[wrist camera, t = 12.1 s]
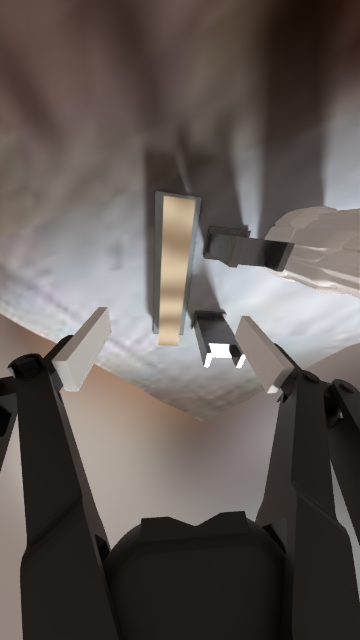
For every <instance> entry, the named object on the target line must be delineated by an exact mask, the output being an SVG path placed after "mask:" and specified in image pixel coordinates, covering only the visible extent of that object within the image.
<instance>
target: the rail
mask: <svg viewBox="0 0 360 640" xmlns="http://www.w3.org/2000/svg"><path fill="white" fill-rule="evenodd" d="M195 201H196V200H191V199H184V198H176V197H169V196H164V204H163V232H162V259H161V287H160V314H159V341H158V345H166V346H178V341H179V332H180V324H181V316H182V308H183V299H184V291H185V283H186V275H187V267H188V258H189V250H190V242H191V234H192V225H193V217H194V209H195Z"/></svg>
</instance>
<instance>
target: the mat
mask: <svg viewBox="0 0 360 640" xmlns="http://www.w3.org/2000/svg"><path fill="white" fill-rule="evenodd" d="M164 196H169V197H176V198H184V199H191V200H196V201H195V209H194V217H193V225H192V234H191V242H190V250H189V258H188V267H187V275H186V283H185V291H184V299H183V308H182V316H181V324H180V332H179V335H183V331H184V324H185V317H186V310H187V302H188V295H189V288H190V280H191V273H192V266H193V258H194V251H195V244H196V236H197V229H198V222H199V215H200V207H201V200H202V198H201V197H194V196H187V195H180V194H173V193H166V192H158V191H155V250H154V324H153V334H159V314H160V287H161V259H162V232H163V204H164Z"/></svg>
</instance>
